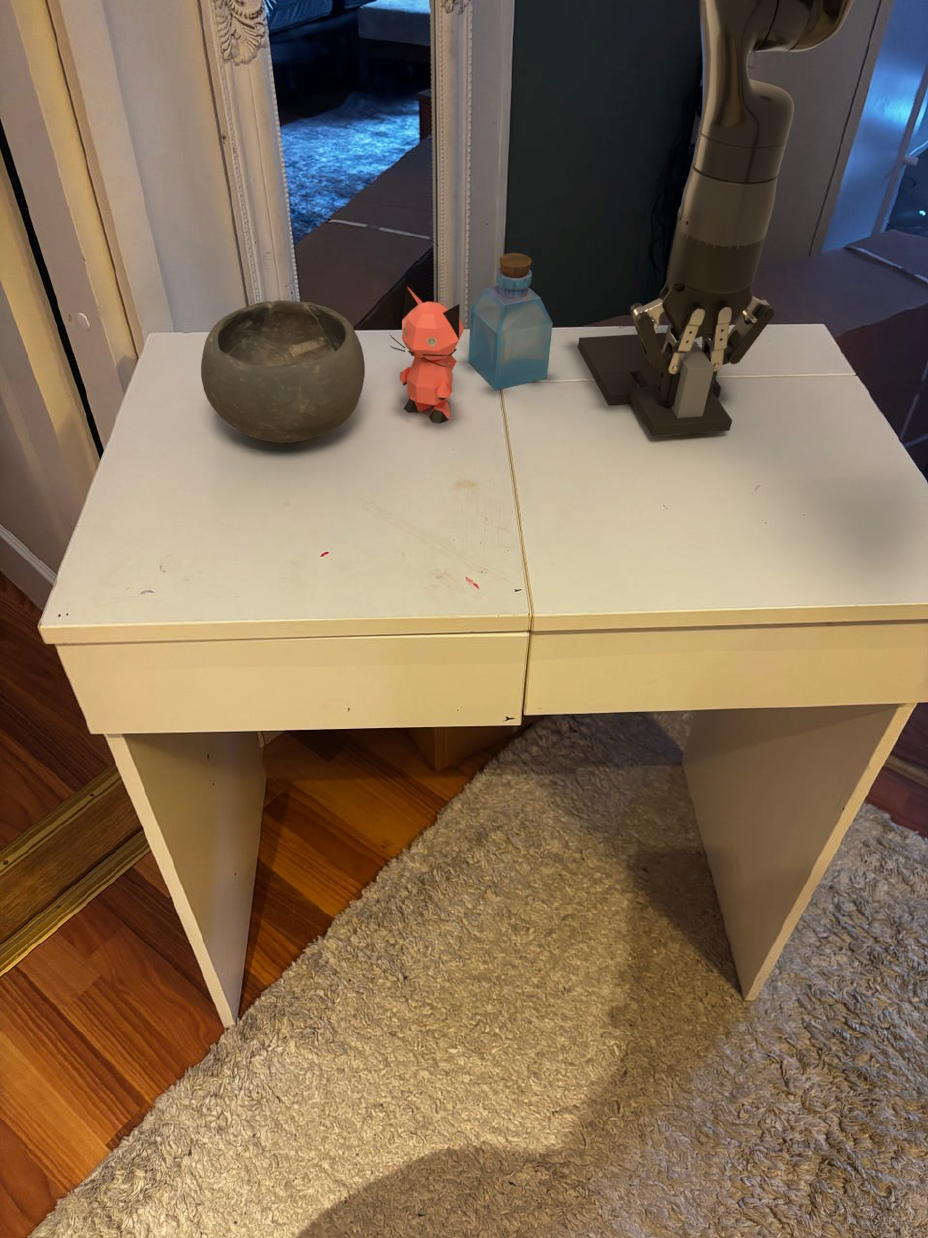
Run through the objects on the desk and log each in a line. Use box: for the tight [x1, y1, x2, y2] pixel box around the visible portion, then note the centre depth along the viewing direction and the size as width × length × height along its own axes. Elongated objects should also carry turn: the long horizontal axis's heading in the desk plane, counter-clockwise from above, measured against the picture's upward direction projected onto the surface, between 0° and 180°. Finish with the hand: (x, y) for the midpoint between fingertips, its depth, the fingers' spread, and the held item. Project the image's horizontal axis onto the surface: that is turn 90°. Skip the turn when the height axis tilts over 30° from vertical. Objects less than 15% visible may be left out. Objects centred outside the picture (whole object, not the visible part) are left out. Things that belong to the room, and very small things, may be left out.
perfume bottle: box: [468, 252, 554, 391], centre depth 95 cm, size 6×6×12 cm
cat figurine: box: [388, 285, 465, 424], centre depth 89 cm, size 7×7×12 cm
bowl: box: [200, 299, 366, 444], centre depth 87 cm, size 15×15×10 cm
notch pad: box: [577, 332, 722, 406], centre depth 100 cm, size 12×12×1 cm
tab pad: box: [630, 341, 733, 438], centre depth 92 cm, size 8×11×6 cm
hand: (682, 400), depth 91 cm, fingers closed on tab pad, 2 cm apart
